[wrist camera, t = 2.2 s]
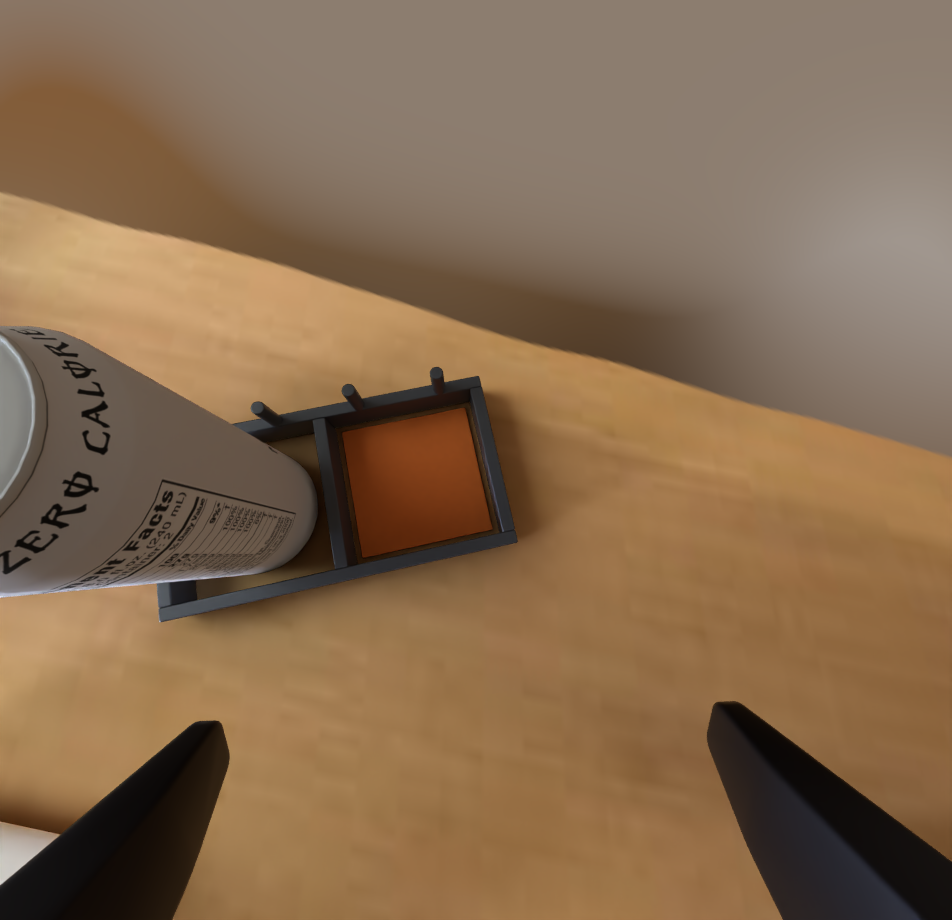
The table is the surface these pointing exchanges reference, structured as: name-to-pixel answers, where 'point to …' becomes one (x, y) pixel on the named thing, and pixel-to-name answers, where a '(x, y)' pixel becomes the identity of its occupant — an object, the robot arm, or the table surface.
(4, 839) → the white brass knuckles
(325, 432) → the dark grey divided frame
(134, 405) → the energy drink can
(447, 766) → the table surface
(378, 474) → the mat
